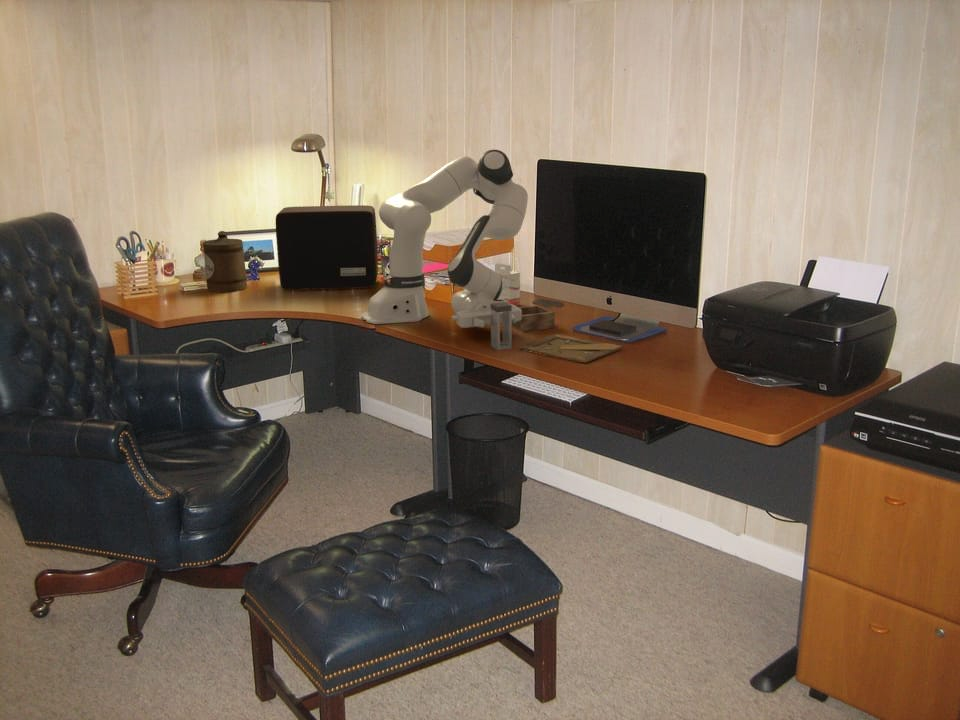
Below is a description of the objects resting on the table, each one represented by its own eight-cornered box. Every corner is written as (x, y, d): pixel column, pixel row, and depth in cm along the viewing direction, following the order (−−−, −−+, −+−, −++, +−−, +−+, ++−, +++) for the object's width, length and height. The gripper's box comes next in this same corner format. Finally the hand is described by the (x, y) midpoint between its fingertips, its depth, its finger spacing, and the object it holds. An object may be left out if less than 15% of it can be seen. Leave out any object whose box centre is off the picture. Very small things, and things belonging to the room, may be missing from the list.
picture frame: (621, 351, 276) (555, 338, 290) (621, 345, 275) (555, 332, 290) (585, 366, 262) (518, 351, 277) (585, 360, 262) (518, 345, 276)
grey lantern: (497, 350, 276) (496, 307, 273) (490, 346, 280) (490, 303, 277) (512, 348, 278) (511, 305, 274) (505, 344, 282) (505, 302, 278)
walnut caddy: (522, 331, 296) (522, 316, 295) (506, 323, 306) (506, 308, 305) (554, 327, 300) (554, 312, 299) (538, 319, 310) (538, 304, 309)
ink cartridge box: (520, 305, 330) (520, 263, 326) (510, 307, 327) (510, 265, 323) (504, 301, 337) (504, 260, 332) (493, 303, 333) (493, 262, 329)
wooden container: (209, 285, 369) (203, 229, 362) (248, 283, 371) (243, 227, 365) (205, 293, 355) (199, 235, 348) (246, 291, 357) (241, 233, 351)
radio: (378, 280, 374) (375, 204, 366) (376, 290, 357) (373, 210, 349) (286, 282, 372) (281, 206, 363) (280, 292, 355) (274, 212, 346)
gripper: (449, 306, 286) (466, 316, 274) (509, 299, 294) (529, 308, 282) (449, 326, 288) (467, 337, 276) (509, 318, 296) (529, 328, 284)
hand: (499, 322), depth 279 cm, fingers open, 8 cm apart
